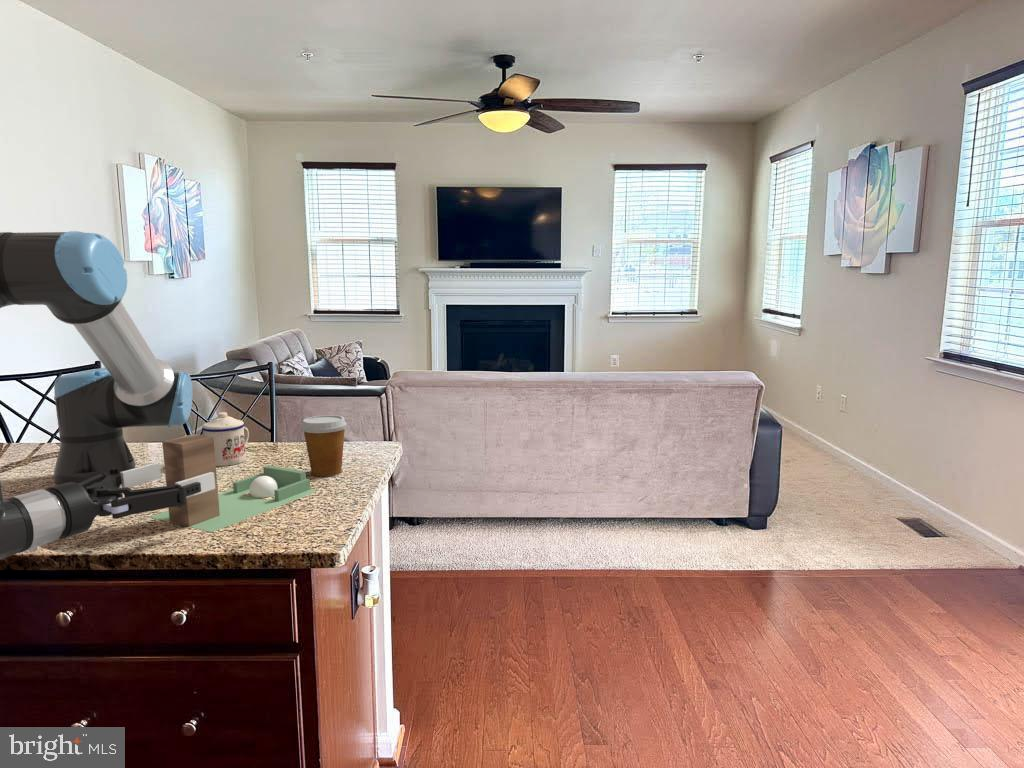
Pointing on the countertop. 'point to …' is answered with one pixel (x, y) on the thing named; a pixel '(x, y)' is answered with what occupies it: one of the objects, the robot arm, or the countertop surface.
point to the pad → (244, 507)
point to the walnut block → (191, 476)
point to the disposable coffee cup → (324, 443)
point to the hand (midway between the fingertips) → (185, 475)
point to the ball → (263, 487)
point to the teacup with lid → (227, 439)
